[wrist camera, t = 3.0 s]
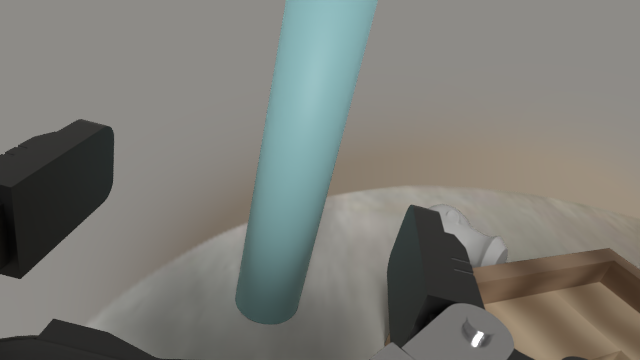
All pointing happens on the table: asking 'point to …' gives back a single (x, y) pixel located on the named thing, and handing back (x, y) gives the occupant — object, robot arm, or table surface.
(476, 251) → the pale two-lobed sculpture
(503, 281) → the box
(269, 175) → the peg
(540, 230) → the table surface
